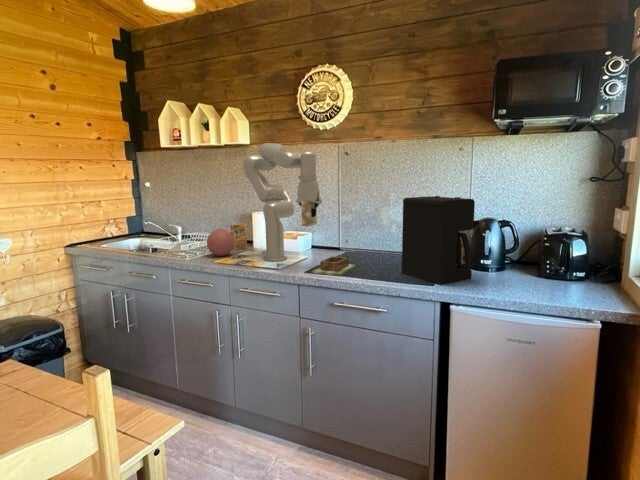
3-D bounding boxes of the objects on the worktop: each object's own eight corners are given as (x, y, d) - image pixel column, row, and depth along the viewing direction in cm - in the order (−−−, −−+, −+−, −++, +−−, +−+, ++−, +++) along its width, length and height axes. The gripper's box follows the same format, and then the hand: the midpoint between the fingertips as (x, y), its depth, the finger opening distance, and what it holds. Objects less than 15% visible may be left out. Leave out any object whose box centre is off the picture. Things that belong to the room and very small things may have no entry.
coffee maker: (480, 280, 176) (484, 198, 171) (447, 287, 167) (450, 200, 161) (432, 268, 201) (434, 195, 195) (401, 273, 191) (402, 197, 185)
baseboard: (163, 254, 247) (184, 253, 248) (163, 249, 247) (183, 248, 248) (175, 245, 277) (193, 244, 279) (175, 240, 277) (193, 240, 278)
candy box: (234, 249, 254) (232, 225, 252) (231, 248, 258) (230, 224, 255) (247, 248, 259) (246, 223, 257) (244, 247, 263) (243, 223, 260)
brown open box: (312, 273, 194) (312, 262, 193) (330, 264, 211) (330, 254, 211) (339, 276, 188) (339, 265, 187) (356, 266, 205) (356, 256, 204)
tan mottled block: (301, 225, 199) (301, 200, 197) (309, 224, 206) (309, 199, 204) (309, 226, 197) (308, 200, 195) (316, 224, 204) (316, 199, 202)
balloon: (243, 252, 246) (242, 226, 243) (226, 259, 227) (224, 231, 225) (221, 251, 251) (220, 226, 248) (202, 257, 232) (200, 230, 230)
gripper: (289, 178, 199) (290, 216, 201) (320, 178, 191) (321, 217, 194) (297, 178, 205) (298, 215, 208) (327, 178, 198) (328, 216, 201)
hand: (309, 216), depth 201 cm, fingers closed on tan mottled block, 4 cm apart
